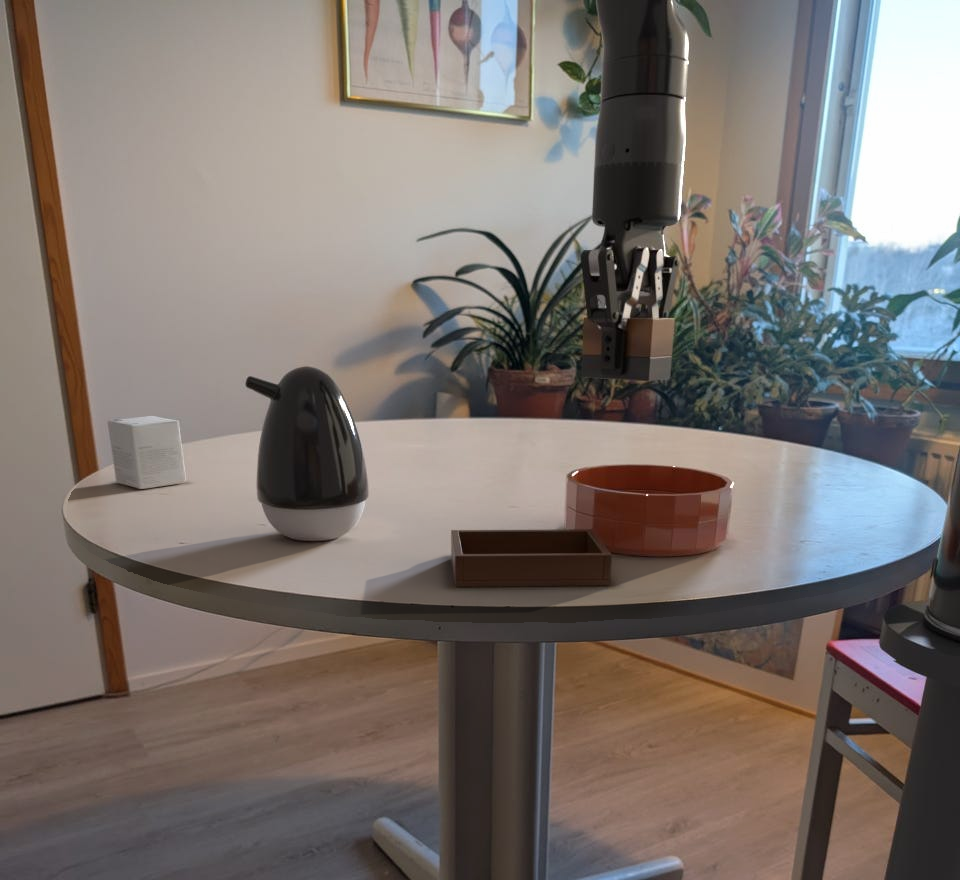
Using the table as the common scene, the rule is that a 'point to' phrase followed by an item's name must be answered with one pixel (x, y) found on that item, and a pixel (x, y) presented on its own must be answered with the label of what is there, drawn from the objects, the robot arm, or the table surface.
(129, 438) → the product carton
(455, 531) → the tray
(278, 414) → the pump dispenser
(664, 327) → the eraser
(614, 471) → the bowl
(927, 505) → the table surface
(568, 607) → the table surface
